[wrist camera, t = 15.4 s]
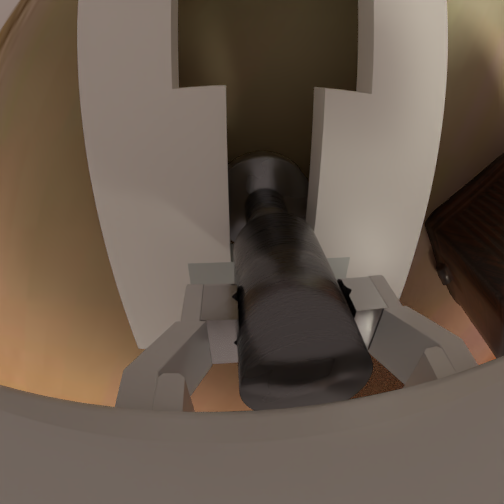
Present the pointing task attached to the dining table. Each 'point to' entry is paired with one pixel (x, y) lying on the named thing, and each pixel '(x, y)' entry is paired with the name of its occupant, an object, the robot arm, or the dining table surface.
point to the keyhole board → (216, 160)
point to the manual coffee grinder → (474, 251)
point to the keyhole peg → (287, 294)
